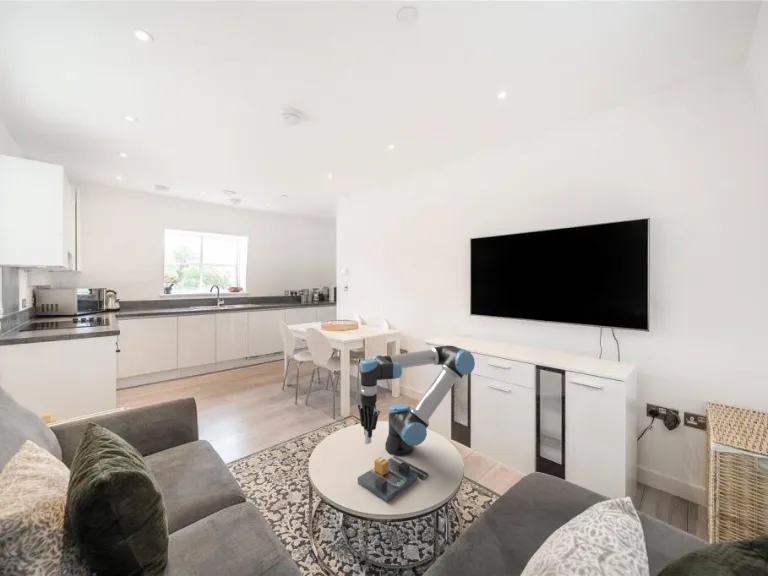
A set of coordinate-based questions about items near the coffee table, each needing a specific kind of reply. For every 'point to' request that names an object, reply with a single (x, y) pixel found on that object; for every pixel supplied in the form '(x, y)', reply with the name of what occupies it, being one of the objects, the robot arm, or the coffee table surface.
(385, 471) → the slider
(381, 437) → the coffee table surface
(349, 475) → the coffee table surface
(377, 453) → the coffee table surface
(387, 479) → the panel
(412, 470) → the grey cylinders
